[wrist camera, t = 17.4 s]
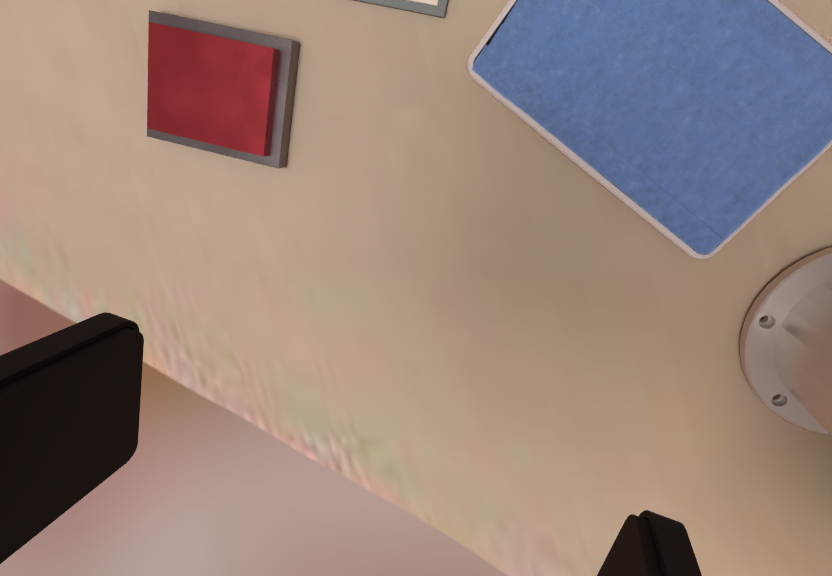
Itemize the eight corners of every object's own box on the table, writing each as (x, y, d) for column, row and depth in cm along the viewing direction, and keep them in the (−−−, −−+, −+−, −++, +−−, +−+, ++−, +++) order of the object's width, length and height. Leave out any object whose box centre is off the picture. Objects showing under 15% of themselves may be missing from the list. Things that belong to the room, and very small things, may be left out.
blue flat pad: (461, 70, 32) (458, 68, 31) (606, -136, 27) (610, -148, 26) (697, 262, 32) (703, 268, 31) (878, 93, 28) (895, 91, 27)
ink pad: (299, 42, 33) (285, 38, 31) (286, 166, 36) (272, 169, 34) (161, 13, 34) (139, 7, 32) (158, 135, 37) (138, 136, 35)
